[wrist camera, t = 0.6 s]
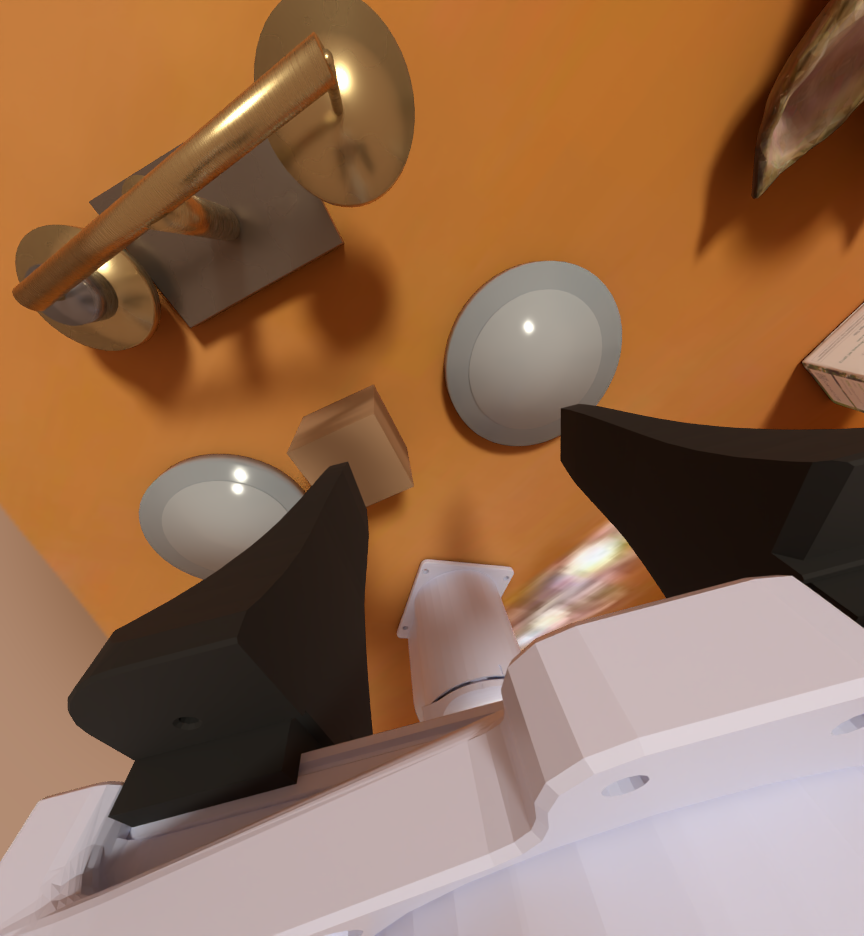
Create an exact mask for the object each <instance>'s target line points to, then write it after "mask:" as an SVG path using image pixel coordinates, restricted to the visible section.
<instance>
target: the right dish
mask: <svg viewBox="0 0 864 936" xmlns="http://www.w3.org/2000/svg"><path fill="white" fill-rule="evenodd" d="M621 345H622V326H621V319H620V315H619V311H618V308H617V305H616V303H615V301H614V298H613V296H612V294H611V293H610V292H609V290H608V289H607V287H606V286H605V285H604V284H603V283H602V282H601V281H600V280H599V279H598V277H596V276H595V275H593V274H592V273H591V272H589V271H588V270H586V269H584V268H582V267H579V266H577V265H574V264H570V263H566V262H558V261H538V262H529V263H525V264H520V265H517V266H514V267H512V268H509V269H507V270H505V271H503V272H501V273H499V274H497V275H496V276H494V277H493V278H491V279H490V280H489V281H487V282H486V283H485V284H483V285H482V286H481V287H480V288H479V289H478V290H477V291H476V292H475V293H474V294H473V295H472V296H471V298H470V299H469V300H468V301H467V302H466V304H465V305H464V307H463V308H462V310H461V311H460V313H459V314H458V316H457V318H456V320H455V322H454V324H453V326H452V329H451V332H450V334H449V337H448V341H447V345H446V350H445V358H444V376H445V382H446V387H447V390H448V394H449V397H450V399H451V401H452V403H453V405H454V407H455V409H456V411H457V412H458V414H459V415H460V417H461V418H462V420H463V421H464V422H465V423H466V424H467V425H468V427H469V428H471V429H472V430H473V431H474V432H475V433H477V434H478V435H480V436H481V437H483V438H485V439H487V440H489V441H492V442H494V443H498V444H502V445H509V446H527V445H534V444H538V443H542V442H545V441H548V440H551V439H553V438H555V437H557V436H559V435H561V408H564V407H568V406H572V405H576V404H587V405H593V406H596V405H597V404H598V402H599V401H600V399H601V398H602V397H603V395H604V394H605V392H606V390H607V389H608V387H609V385H610V383H611V381H612V379H613V376H614V374H615V371H616V368H617V365H618V362H619V357H620V353H621Z"/></svg>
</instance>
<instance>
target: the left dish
mask: <svg viewBox="0 0 864 936" xmlns="http://www.w3.org/2000/svg"><path fill="white" fill-rule="evenodd" d="M304 494H305V491H304V490H303V489H302V488H301V487H300V486H299V485H298V484H297V483H296V482H295V481H294V480H293V479H292V478H291V477H289V476H288V475H286V474H285V473H283V472H282V471H280V470H279V469H277V468H275V467H273V466H271V465H269V464H266V463H264V462H262V461H259V460H256V459H252V458H249V457H244V456H239V455H231V454H208V455H200V456H196V457H192V458H188V459H186V460H183V461H180V462H178V463H177V464H175V465H173V466H171V467H170V468H168V469H167V470H166V471H165V472H163V473H162V474H161V475H160V476H159V477H158V478H157V479H156V480H155V481H154V482H153V483H152V484H151V485H150V487H149V488H148V489H147V490H146V492H145V494H144V495H143V498H142V500H141V503H140V509H139V520H140V525H141V528H142V531H143V533H144V535H145V538H146V539H147V541H148V542H149V544H150V545H151V546H152V548H153V549H154V550H155V551H156V552H157V553H158V554H159V555H160V556H161V557H162V558H163V559H164V560H166V561H167V562H169V563H170V564H171V565H173V566H174V567H176V568H178V569H180V570H181V571H183V572H186V573H188V574H190V575H192V576H195V577H198V578H200V579H206V578H207V577H209V576H210V575H212V574H213V573H215V572H216V571H218V570H219V569H221V568H222V567H223V566H225V565H226V564H227V563H229V562H230V561H231V560H233V559H234V558H235V557H237V556H238V555H239V554H241V553H242V552H243V551H245V550H246V549H247V548H249V547H250V546H251V545H253V544H254V543H255V542H256V541H257V540H258V539H260V538H261V537H262V536H263V535H264V534H265V533H267V532H268V531H269V530H270V529H271V528H272V527H273V526H274V525H275V524H276V523H278V522H279V521H280V520H281V519H282V518H283V516H284V515H285V514H286V513H287V512H288V511H289V510H290V509H291V508H292V507H293V506H294V505H295V504H296V503H297V502H298V501H299V500H300V499H301V498H302V496H303V495H304Z"/></svg>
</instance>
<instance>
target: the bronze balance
mask: <svg viewBox="0 0 864 936" xmlns="http://www.w3.org/2000/svg"><path fill="white" fill-rule="evenodd" d="M414 122H415V108H414V96H413V90H412V85H411V80H410V76H409V72H408V69H407V65H406V63H405V60H404V58H403V55H402V52H401V50H400V48H399V46H398V44H397V42H396V40H395V38H394V37H393V35H392V34H391V32H390V30H389V29H388V27H387V26H386V25H385V23H384V22H383V21H382V20H381V18H380V17H379V16H378V15H377V14H376V13H375V12H374V11H373V10H372V9H371V8H370V7H369V6H368V5H367V4H366V3H364V2H363V1H362V0H282V1H281V2H280V3H279V4H278V5H277V6H276V7H275V9H274V10H273V11H272V12H271V14H270V16H269V17H268V19H267V21H266V22H265V25H264V27H263V30H262V32H261V34H260V38H259V41H258V45H257V49H256V56H255V63H254V83H253V84H252V85H251V86H250V87H248V88H247V89H246V90H245V91H244V92H243V93H241V94H240V95H239V96H238V97H237V98H236V99H234V100H233V101H232V102H231V103H230V104H229V105H227V106H226V107H225V108H224V109H223V110H222V111H220V112H219V113H218V114H217V115H216V116H215V117H213V118H212V119H211V120H210V121H209V122H207V123H206V124H205V125H204V126H203V127H202V128H200V129H199V130H198V131H197V132H196V133H195V134H193V135H192V136H191V137H190V138H189V139H188V140H186V141H185V142H184V143H182V144H180V145H179V146H177V147H176V148H174V149H172V150H171V151H169V152H168V153H166V154H164V155H163V156H161V157H160V158H158V159H157V160H155V161H153V162H152V163H150V164H149V165H147V166H145V167H144V168H142V169H141V170H139V171H137V172H136V173H134V174H133V175H131V176H129V177H128V178H126V179H125V180H123V181H121V182H120V183H118V184H117V185H115V186H113V187H112V188H110V189H109V190H107V191H106V192H104V193H102V194H101V195H99V196H98V197H96V198H94V199H93V200H91V201H90V202H89V203H90V204H91V205H92V207H93V208H94V209H95V210H96V212H97V213H98V214H99V216H98V217H97V218H95V219H94V220H93V221H92V222H91V223H90V224H88V225H87V226H86V227H85V228H80V227H74V226H66V225H47V226H42V227H39V228H36V229H34V230H32V231H31V232H29V233H28V234H27V235H25V237H24V238H23V239H22V240H21V242H20V244H19V246H18V248H17V252H16V261H15V264H16V272H17V276H18V280H19V282H20V283H19V284H18V285H17V286H16V287H15V288H14V289H13V291H12V293H13V296H14V298H15V299H16V300H17V301H18V302H19V303H20V304H21V305H23V306H24V307H26V308H28V309H31V310H34V311H37V312H38V313H39V314H40V315H41V316H42V317H43V318H44V319H45V320H46V321H47V322H48V323H49V324H50V325H51V326H53V327H54V328H55V329H57V330H58V331H59V332H61V333H62V334H64V335H65V336H67V337H69V338H70V339H72V340H74V341H76V342H78V343H81V344H83V345H86V346H89V347H92V348H96V349H100V350H108V351H118V350H125V349H128V348H132V347H135V346H137V345H140V344H142V343H144V342H146V341H147V340H149V339H150V338H151V337H152V336H153V335H154V333H155V332H156V330H157V328H158V326H159V322H160V318H161V305H160V300H159V296H158V293H157V290H156V288H155V286H154V284H153V282H154V283H155V285H156V286H157V287H158V288H159V290H160V291H161V292H162V293H163V294H164V296H165V297H166V298H167V299H168V301H169V302H170V303H171V304H172V306H173V307H174V308H175V309H176V311H177V312H178V313H179V314H180V316H181V317H182V318H183V319H184V320H185V322H186V323H187V324H188V325H189V327H190V328H191V327H194V326H197V325H200V324H201V323H203V322H205V321H207V320H209V319H210V318H212V317H214V316H216V315H218V314H219V313H221V312H223V311H225V310H226V309H228V308H230V307H232V306H234V305H235V304H237V303H239V302H241V301H243V300H244V299H246V298H248V297H250V296H252V295H253V294H255V293H257V292H259V291H260V290H262V289H264V288H266V287H268V286H269V285H271V284H273V283H275V282H277V281H278V280H280V279H282V278H284V277H286V276H287V275H289V274H291V273H293V272H294V271H296V270H298V269H300V268H302V267H303V266H305V265H307V264H309V263H311V262H312V261H314V260H316V259H318V258H320V257H321V256H323V255H325V254H327V253H328V252H330V251H332V250H334V249H336V248H337V247H339V246H341V245H343V244H344V242H343V240H342V238H341V236H340V234H339V232H338V230H337V228H336V226H335V224H334V222H333V220H332V218H331V216H330V214H329V212H328V210H327V208H326V206H325V204H324V202H327V203H330V204H332V205H336V206H341V207H360V206H363V205H367V204H370V203H372V202H374V201H376V200H378V199H379V198H380V197H382V196H383V195H384V194H386V193H387V192H388V191H389V190H390V189H391V188H392V186H393V185H394V184H395V183H396V181H397V179H398V178H399V176H400V175H401V173H402V171H403V168H404V166H405V164H406V161H407V158H408V155H409V151H410V148H411V144H412V139H413V133H414ZM323 201H324V202H323ZM125 248H126V249H127V250H128V251H129V252H130V253H129V252H128V251H127V250H126V249H125Z"/></svg>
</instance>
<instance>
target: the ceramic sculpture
mask: <svg viewBox="0 0 864 936" xmlns="http://www.w3.org/2000/svg"><path fill="white" fill-rule="evenodd" d="M863 101H864V0H830V1H829V2H828V3H827V5H826V6H825V7H824V8H823V10H822V11H821V12H820V14H819V15H818V17H817V18H816V19H815V21H814V22H813V23H812V25H811V26H810V28H809V29H808V30H807V32H806V33H805V35H804V36H803V37H802V39H801V40H800V42H799V43H798V44H797V46H796V47H795V49H794V50H793V52H792V53H791V55H790V56H789V58H788V60H787V62H786V63H785V65H784V67H783V68H782V70H781V72H780V74H779V75H778V77H777V80H776V82H775V84H774V86H773V88H772V90H771V92H770V94H769V96H768V99H767V103H766V106H765V111H764V116H763V119H762V123H761V126H760V129H759V132H758V137H757V143H756V148H755V158H754V170H753V182H752V197H753V199H757V198H759V197H760V196H761V195H762V194H763V193H764V192H765V191H766V190H767V188H768V187H769V186H770V185H771V184H772V183H773V182H774V180H775V179H776V178H777V177H778V176H779V175H780V174H781V173H782V172H783V171H785V170H786V169H787V168H788V167H789V166H791V165H792V164H793V163H794V162H796V161H797V160H798V159H799V158H800V157H802V156H803V155H804V154H805V153H806V152H808V151H809V150H810V149H812V148H813V147H814V146H816V145H817V144H819V143H820V142H822V141H823V140H825V139H826V138H827V137H828V136H829V135H831V134H832V133H833V132H834V131H835V130H836V129H838V128H839V127H840V126H841V125H842V124H843V123H844V122H845V121H846V119H847V118H848V117H849V116H850V114H851V113H852V112H853V111H854V110H855V109H856V108H857V107H858V106H859V105H860V104H861V103H862V102H863Z"/></svg>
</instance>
